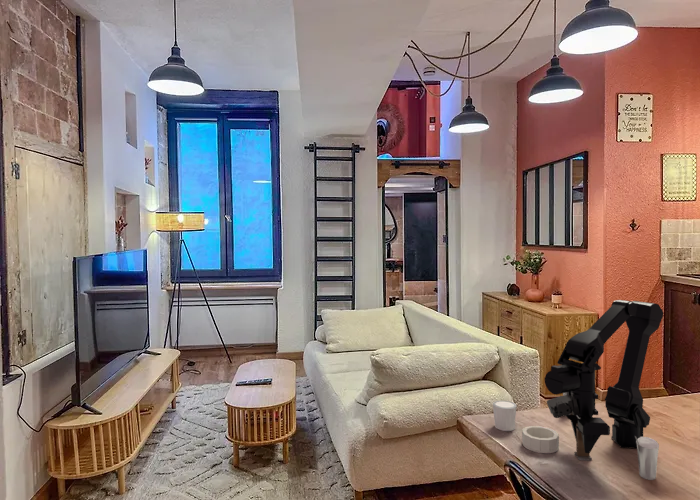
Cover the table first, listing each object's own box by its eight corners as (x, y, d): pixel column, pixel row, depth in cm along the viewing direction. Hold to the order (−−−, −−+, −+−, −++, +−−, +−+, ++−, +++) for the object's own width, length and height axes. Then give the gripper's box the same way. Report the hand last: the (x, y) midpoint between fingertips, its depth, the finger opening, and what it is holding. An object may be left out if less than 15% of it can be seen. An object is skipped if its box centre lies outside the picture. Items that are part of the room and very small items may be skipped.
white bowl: (552, 438, 133) (552, 426, 133) (563, 454, 124) (563, 440, 124) (518, 437, 134) (518, 425, 134) (527, 452, 125) (526, 439, 125)
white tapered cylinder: (518, 432, 138) (518, 409, 138) (494, 431, 139) (493, 407, 139) (515, 423, 145) (515, 400, 144) (491, 421, 146) (491, 399, 146)
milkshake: (628, 472, 114) (628, 431, 114) (649, 471, 114) (649, 430, 114) (641, 482, 109) (641, 440, 109) (663, 481, 110) (663, 438, 110)
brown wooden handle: (574, 454, 124) (574, 421, 124) (587, 454, 124) (587, 422, 123) (578, 460, 121) (578, 426, 121) (591, 460, 120) (591, 427, 120)
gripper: (539, 376, 132) (540, 431, 132) (561, 400, 113) (562, 464, 114) (581, 377, 130) (582, 432, 131) (610, 401, 112) (611, 465, 112)
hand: (582, 447), depth 122 cm, fingers open, 6 cm apart
